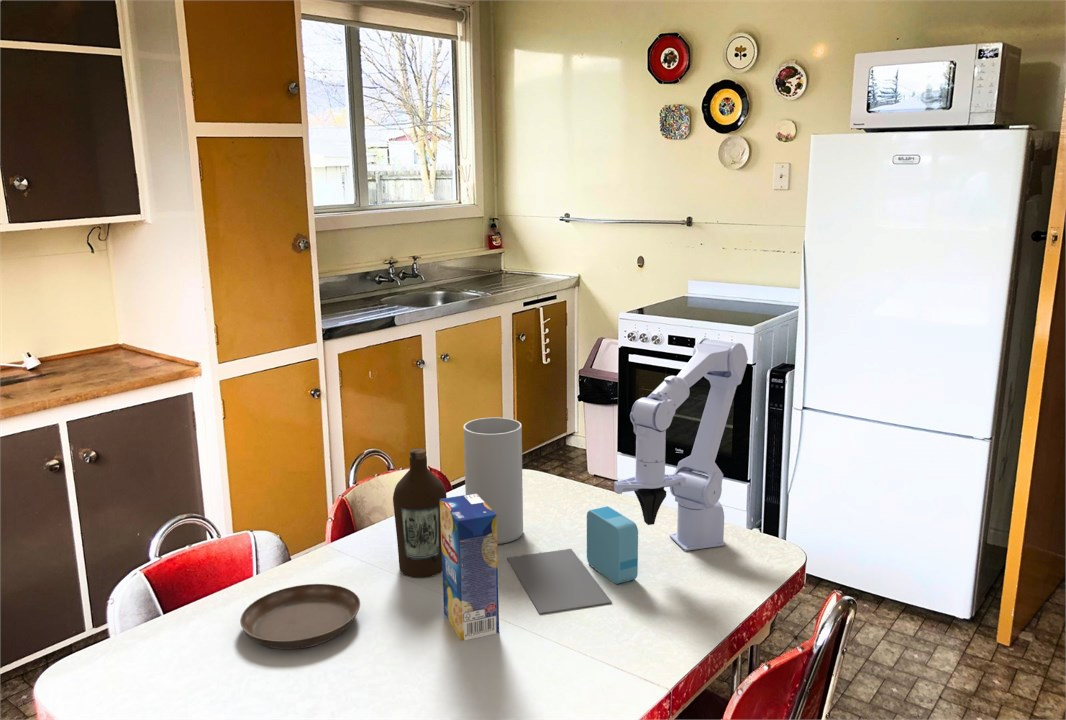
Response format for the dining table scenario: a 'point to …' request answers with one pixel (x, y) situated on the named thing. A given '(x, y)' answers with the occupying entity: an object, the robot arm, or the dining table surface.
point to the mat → (557, 581)
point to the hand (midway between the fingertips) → (649, 522)
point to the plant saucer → (300, 615)
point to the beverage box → (469, 565)
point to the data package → (612, 544)
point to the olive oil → (419, 518)
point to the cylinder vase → (496, 471)
